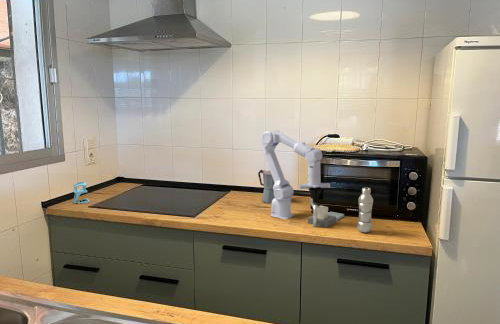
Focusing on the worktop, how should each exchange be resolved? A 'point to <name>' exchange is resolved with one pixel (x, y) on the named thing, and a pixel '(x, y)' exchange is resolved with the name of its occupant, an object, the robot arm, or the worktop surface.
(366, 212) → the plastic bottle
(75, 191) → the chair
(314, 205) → the grey piece
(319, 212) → the plug
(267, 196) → the moka pot
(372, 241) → the worktop surface
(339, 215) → the tile
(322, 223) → the socket block
